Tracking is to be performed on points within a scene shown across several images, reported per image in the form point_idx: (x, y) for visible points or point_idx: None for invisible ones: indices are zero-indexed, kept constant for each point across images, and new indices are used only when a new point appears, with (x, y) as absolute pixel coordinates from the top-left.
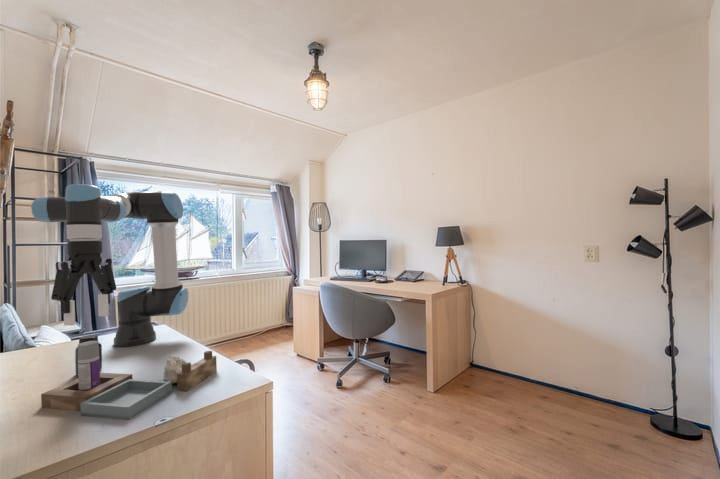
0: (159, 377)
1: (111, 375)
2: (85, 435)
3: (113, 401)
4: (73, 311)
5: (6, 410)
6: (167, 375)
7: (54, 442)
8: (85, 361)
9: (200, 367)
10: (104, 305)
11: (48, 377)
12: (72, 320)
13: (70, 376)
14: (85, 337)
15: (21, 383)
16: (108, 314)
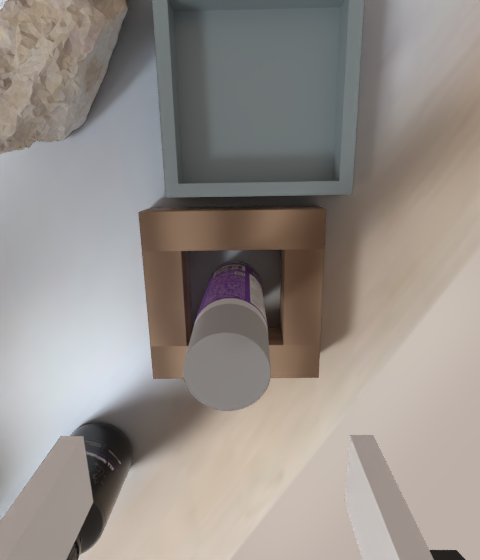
0: (68, 167)
1: (163, 286)
2: (441, 58)
3: (268, 155)
4: (406, 539)
5: (334, 428)
6: (92, 73)
7: (474, 119)
8: (262, 316)
9: None
10: (31, 540)
11: (157, 524)
12: (384, 465)
13: (137, 474)
14: None
15: (203, 551)
16: (54, 446)
